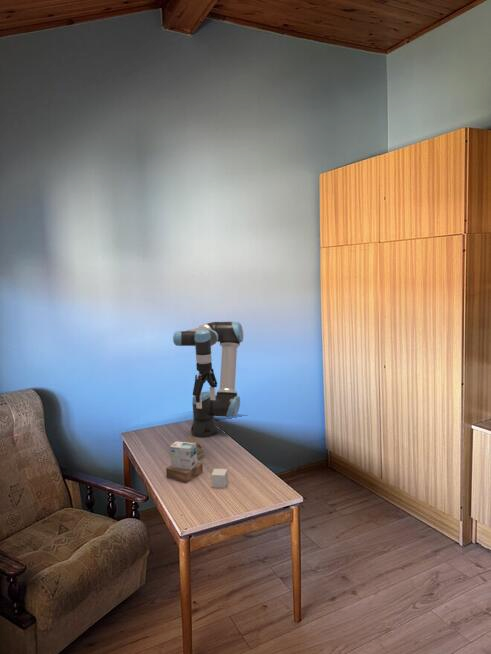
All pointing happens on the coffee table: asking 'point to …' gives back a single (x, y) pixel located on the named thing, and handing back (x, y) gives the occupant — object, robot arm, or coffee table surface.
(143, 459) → the coffee table surface
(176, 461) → the light bulb box
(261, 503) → the coffee table surface
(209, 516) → the coffee table surface
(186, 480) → the base block
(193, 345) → the robot arm
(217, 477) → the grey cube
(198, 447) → the ceramic model
